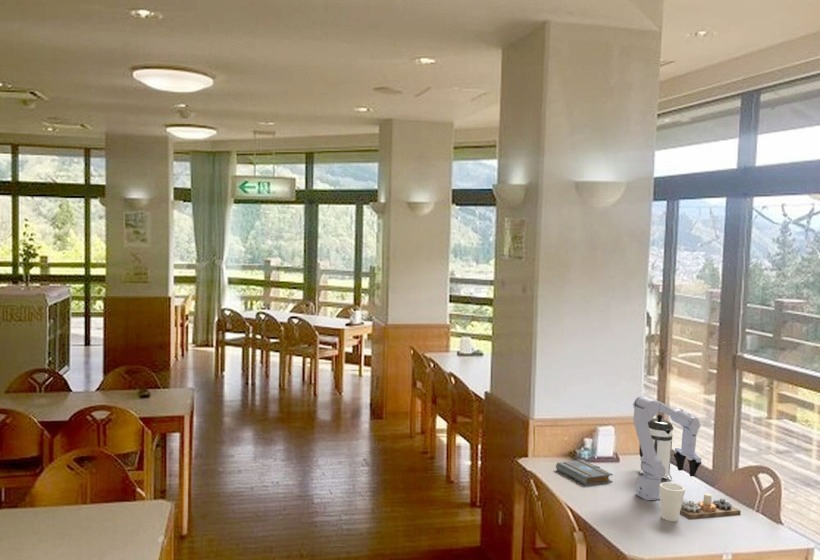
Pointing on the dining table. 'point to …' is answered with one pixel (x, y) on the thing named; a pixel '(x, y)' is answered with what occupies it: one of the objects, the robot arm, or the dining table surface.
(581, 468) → the book
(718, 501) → the gear
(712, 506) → the loose gear
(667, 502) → the foam cup
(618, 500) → the dining table surface
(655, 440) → the coffee press
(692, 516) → the gear board
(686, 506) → the gear
